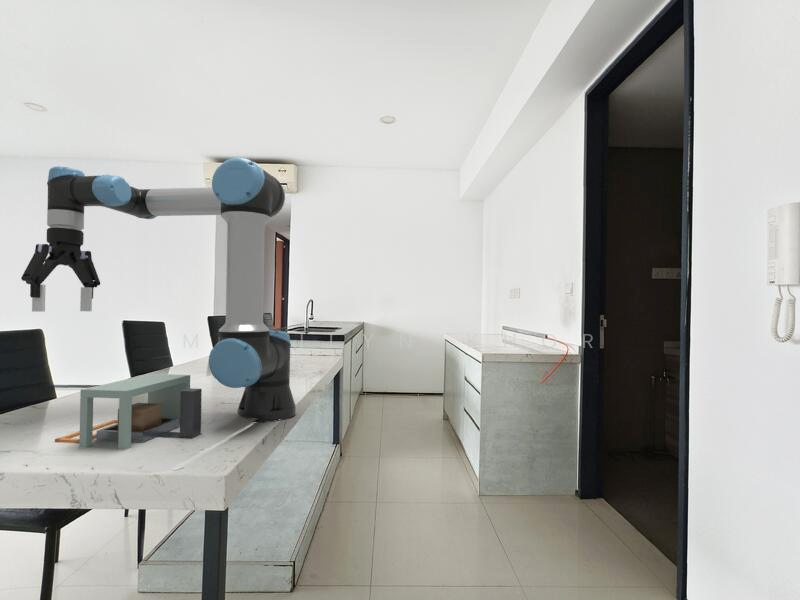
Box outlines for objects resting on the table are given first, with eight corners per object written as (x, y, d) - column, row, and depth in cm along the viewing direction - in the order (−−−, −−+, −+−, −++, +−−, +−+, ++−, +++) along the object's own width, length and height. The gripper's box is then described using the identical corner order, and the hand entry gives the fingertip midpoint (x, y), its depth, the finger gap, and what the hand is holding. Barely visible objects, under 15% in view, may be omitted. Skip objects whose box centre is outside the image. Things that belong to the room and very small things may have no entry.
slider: (211, 431, 100) (212, 385, 100) (179, 448, 88) (180, 395, 88) (136, 428, 102) (137, 383, 102) (95, 444, 90) (96, 392, 91)
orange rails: (136, 426, 104) (137, 420, 104) (80, 447, 89) (80, 440, 89) (114, 425, 105) (114, 419, 105) (54, 446, 89) (54, 439, 89)
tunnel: (189, 426, 105) (190, 374, 106) (125, 454, 85) (126, 391, 85) (151, 424, 107) (152, 373, 107) (79, 452, 86) (80, 389, 86)
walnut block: (161, 430, 98) (162, 403, 98) (142, 437, 92) (143, 409, 92) (137, 429, 99) (137, 402, 99) (117, 436, 93) (117, 408, 93)
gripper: (92, 237, 124) (90, 311, 123) (2, 219, 99) (0, 311, 98) (116, 237, 123) (114, 311, 122) (31, 218, 98) (29, 311, 98)
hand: (63, 311), depth 110 cm, fingers open, 13 cm apart
